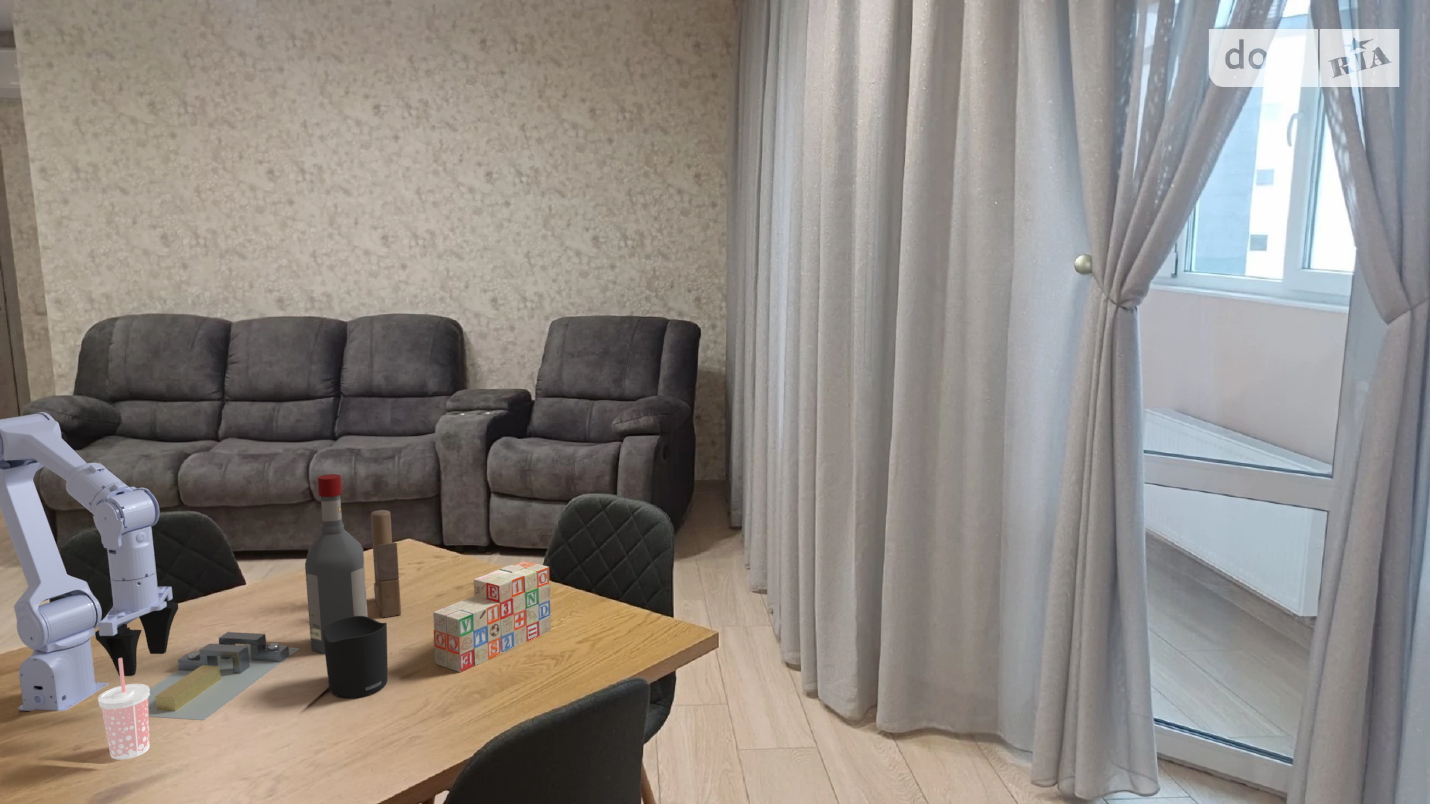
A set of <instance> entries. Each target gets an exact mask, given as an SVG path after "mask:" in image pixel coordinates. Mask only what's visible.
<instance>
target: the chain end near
mask: <svg viewBox="0 0 1430 804" xmlns="http://www.w3.org/2000/svg"><path fill="white" fill-rule="evenodd" d="M241 645H242V644H235V645H223V644H219V643H208V644H206V645H205V646H204V647H202V648H200V649H199V651H196V650H195V651H191V652H188V653H187V654H185V655H183V656H181V657H180V658H178V659H177V664H178V665H177V666H178V670H184V671H194V670H196V669H197V668H199V667H200V666H202V665H209V666H218V660H217V656H223V657H232V661H233V673H235V674H241V673H242V672H244V671H245V670H246V669H248V668H249V667H250V666H249V655H248V646H241Z"/></svg>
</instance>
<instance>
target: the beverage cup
mask: <svg viewBox="0 0 1430 804" xmlns="http://www.w3.org/2000/svg"><path fill="white" fill-rule="evenodd" d="M118 662H119V671H120V676H119V681H120V685H118V686H114V687H112V688H109V689H108V690H106V691H103V692H102V693H101V694H99V696H98V697H97V701H98V706H99V708H101V713H102V718H103V722H104V728H105V734H106V739H107V744H108V749H109V755H110V757H111V758H112V759H114V760H121V761H122V760H130V759H133V758H137V757H139V756H141V755H144V754H145V753H146V752H147V751H148V750H149V749H150V747H151V746H150V745H151V744H150V717H149V711H148V697H149V695H150V693H149V691H150V688H151V687H149V685H146V684H144V683H130V684H129V683H128V684H126V680H125V676H124V670H123V661H122V658H119V659H118Z"/></svg>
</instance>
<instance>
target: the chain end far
mask: <svg viewBox="0 0 1430 804" xmlns="http://www.w3.org/2000/svg"><path fill="white" fill-rule="evenodd" d="M218 644H223V645H250V646H251V658H252V661H268V662H282V661H283V660H284V661H286V660H287V659H288V658H290V657H289V648H290V647H289V645H281V644H280V643H278V642H270V643H268V644H267V639H266V633H254V632H252V633H251V632H236V631H235V632H234V631H233V632H232V631H227V632H226V633H224V634H223V635H221V636H219V637H218ZM287 657H288V658H287ZM220 658H221V659H228V658H230V657H223V656H220ZM286 658H287V659H286ZM285 659H286V660H285ZM284 661H283V662H284ZM283 662H282V663H283Z"/></svg>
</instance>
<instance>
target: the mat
mask: <svg viewBox="0 0 1430 804" xmlns="http://www.w3.org/2000/svg"><path fill="white" fill-rule="evenodd" d="M240 645H241V646H248V655H249V666H250V667H249V668H248V669H246V670H245V671H244V672H242V673H241V674H235V673H233V661H232V657H230V658H228V659H221V658H220V656H217V660H218V666H220V674H221V680H219V681H218V682H216V683H215V684H213V685H212V686H211V687H209V688H208V689H206V690H205V691H203V692H202V693H201V694H199V695H198V696H196V697H195V698H193V699H192V700H191V701H189V702H188V703H186V704H185V705H183V706H182V707H181V708H179V709H178V710H176V711H165V710H157V706H156V695H158V694H159V693H161V692H162V691H164V690H166V689H167V688H169V687H170V686H172V685H173V684H175V683H176V682H178V681H179V680H181V679H182V678H184V677H185V676H187V675H188V674H190V673H191V672H193V671H184V670H179V669H178V670H177V671H175V672H173V673H171V674H170V675H168V676H167V677H165V678H164V679H162V680H161V681H159V682H157V683H156V684H155V685H153V686H152V687H149V688H150V691H149V693H150V695H149V697H148V711H149V718H165V719H179V720H181V719H182V720H195V721H196V720H197V721H205V720H207V719H208V718H209V717H210V716H212V715H213V714H215V713H216V712H217V711H219V710H220V709H221V708H222V707H223V708H224V706H225V705H227V704H228V703H230V702H231V701H232V700H234V699H235V698H236V697H238V696H239V695H240V694H241V693H243V692H244V691H246V690H247V689H248V688H249V687H251V686H252V685H253V684H255V683H256V682H258V681H259V680H260V679H262V678H263V677H265V675H267V674H268V673H270V672H271V671H272V670H274V669H275V668H277V666H279V665H280V664H282V663H283V662H284V661H286V660H287V659H288V658H290V657H291V656H292V655H293V654H295V653H296V652H297V651H299V650H300V649H301V648H299V647H289V657H287V658H286V659H285V660H283V661H282V662H268V661H252V658H251V646H250V645H249V644H240Z"/></svg>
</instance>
